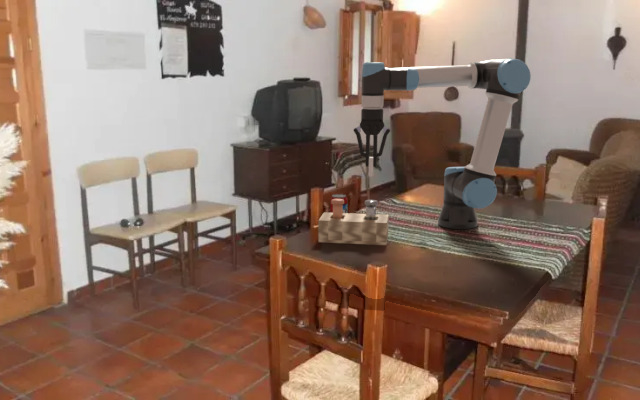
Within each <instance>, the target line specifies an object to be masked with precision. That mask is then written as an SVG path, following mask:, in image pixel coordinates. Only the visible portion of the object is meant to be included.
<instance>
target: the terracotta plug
mask: <svg viewBox="0 0 640 400" xmlns="http://www.w3.org/2000/svg"><path fill="white" fill-rule="evenodd" d="M331 204H333V218H335V219H342V217H343V204H344V200H343V199H332V200H331Z"/></svg>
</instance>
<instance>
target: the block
mask: <svg viewBox="0 0 640 400" xmlns="http://www.w3.org/2000/svg"><path fill="white" fill-rule="evenodd" d="M389 217H390V216H389V214H380V213H379V214H377V213H376V220H366V213H351V212H350V213H343V217H342V219H335V218H333V213H330V211H329V212H326V211H325V212H323V213H322V215H321V216H320V217H319V219H318V228H317V229H318V243H329V244H330V243H333V244H350V245H351V244H352V245H353V244H354V245H372V246H373V245H374V246H387V243H388V238H389V220H390V219H389Z"/></svg>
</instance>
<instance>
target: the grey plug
mask: <svg viewBox="0 0 640 400" xmlns="http://www.w3.org/2000/svg"><path fill="white" fill-rule="evenodd" d="M378 201H379V200H376V199H366V200H364V205H365V214H366V220H376V214H377V206H378V204H379V203H378Z"/></svg>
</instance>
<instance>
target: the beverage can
mask: <svg viewBox="0 0 640 400" xmlns="http://www.w3.org/2000/svg"><path fill="white" fill-rule="evenodd" d="M332 199H343V200H344V204H343V213H348V212H349V211H348V210H349V209H348V208H349V207H348V206H349V205H348V203H349V201H348V200H349V198H347V195H346V194H343V193H335V194H334V193H333V194H332V195H331V198H330V202H329V203H330V204H329V206H330V208H329V209H330V211H329V213H333V204H331V200H332Z"/></svg>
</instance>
